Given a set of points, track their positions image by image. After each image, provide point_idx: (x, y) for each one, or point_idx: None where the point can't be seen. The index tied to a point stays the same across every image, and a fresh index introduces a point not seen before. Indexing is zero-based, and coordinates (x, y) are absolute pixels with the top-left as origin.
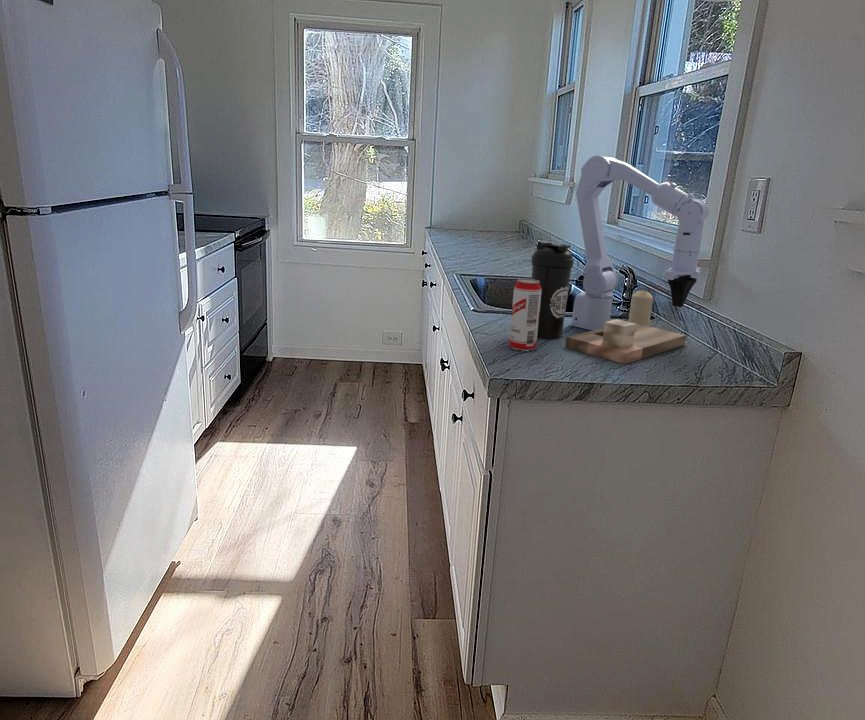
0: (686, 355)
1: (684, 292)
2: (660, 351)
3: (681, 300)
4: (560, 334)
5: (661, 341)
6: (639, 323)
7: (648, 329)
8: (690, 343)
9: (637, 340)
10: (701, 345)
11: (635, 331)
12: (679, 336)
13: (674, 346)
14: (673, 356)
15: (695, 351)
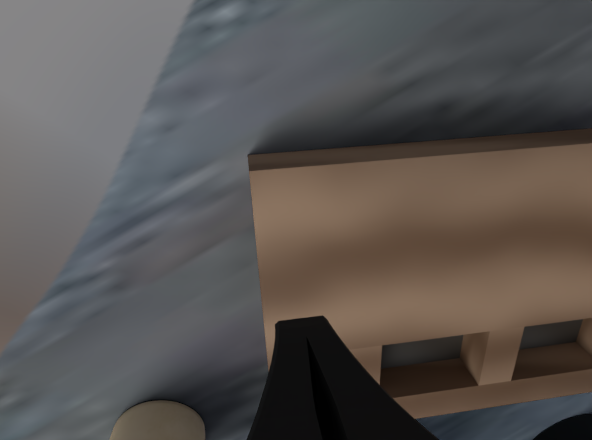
0: (441, 29)
1: (398, 418)
2: (503, 136)
3: (349, 356)
4: (581, 427)
5: (513, 162)
6: (191, 431)
7: None
8: (182, 158)
9: (580, 231)
10: (157, 99)
11: (421, 331)
12: (316, 175)
13: (366, 148)
14: (513, 60)
15: (317, 46)
